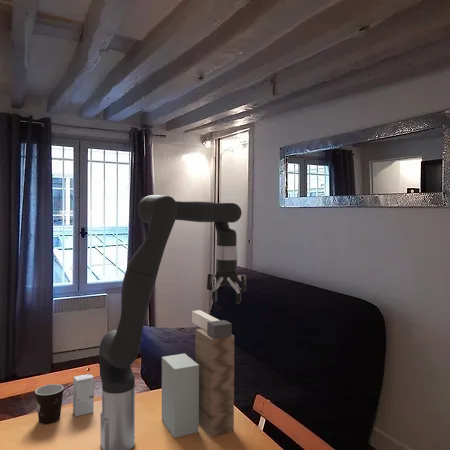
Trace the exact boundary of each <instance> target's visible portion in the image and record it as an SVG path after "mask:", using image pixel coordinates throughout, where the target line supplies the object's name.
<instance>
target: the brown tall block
mask: <svg viewBox="0 0 450 450" xmlns="http://www.w3.org/2000/svg"><path fill="white" fill-rule="evenodd" d="M194 350H195V352H194V353H195V355H194V356H195V362H196V363H197V364H198V365H199V427H201V428H202V429H203V431H204V432H205V433H206V434H207V435H208V436H209V437H210V438H213V437H217V436H220V435H224V434H228V433H233V432H234V431H235V430H234V429H235V426H234V425H235V424H234V423H235V421H234V420H235V335H234V334H232V336H231V337H224V338H217V339H214V338H212V337H210V336H209V335H207V331H206V330H204V329H202V328H197V329H195V349H194Z"/></svg>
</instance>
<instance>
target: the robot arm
mask: <svg viewBox="0 0 450 450" xmlns="http://www.w3.org/2000/svg"><path fill="white" fill-rule="evenodd" d="M137 215H138V217H139V218H140V220H141V221H142V222H144V223H146V224H148V225H149V228H148V231H147V234H146V237H145V239H144V240H143V243H142V244H141V245H140V246H139V247H138V249H137V251H136V252H135V253H134V254H133V255H132V257H131V258H130V260H129V261H128V263H127V266H126V270H125V272H124V276H123V278H122V279H123V280H122V284H121V292H120V293H121V295H120V296H121V301H120V303H121V309H120V310H121V311H120V318H119V322H118V326H117V329H113V330H110V331H107V333H106V334H105V335H103V337H102V339H101V340H100V343H99V350H98V351H99V354H98V355H99V357H98V358H99V376H100V381H101V386H102V387H101V389H102V390H101V393H102V394H101V395H102V396H101V407H102V409H101V412H100V446H101V449H102V450H131V449H133V447H134V446H135V443H136V442H135V440H136V439H135V438H136V434H135V433H136V431H135V429H136V428H135V426H136V424H135V420H136V419H135V418H136V417H135V416H136V415H135V414H136V412H135V410H136V407H135V406H136V405H135V404H136V403H135V401H136V400H135V399H136V395H135V392H136V391H135V389H136V388H135V387H136V382H135V381H136V380H135V375H134V373H133V372H134V371H133V369H132V367H131V366H132V364H133V363H134V362H135V361H136V359H137V357H138V355H139V352H140V346H141V342H142V335H143V328H144V324H145V320H146V315H147V313H148V310H149V307H150V301H151V299H152V294H153V291H154V289H155V286H156V285H155V284H156V282H157V281H156V280H157V279H158V278H157V277H158V273H159V269H160V266H161V262H162V259H163V256H164V252H165V250H166V246H167V243H168V240H169V238H170V235H171V233H172V230H173V227H174V225H175V222H176V221H186V222H193V223H214V229H215V231H216V235H217V238H216V239H217V240H216V242H217V243H216V254H215V255H216V256H215V257H216V260H215V261H216V263H215V265H216V266H215V267H216V272H215V273H213V272H210V273H208V274H207V280H206V281H207V282H206V290H208V291H210V292H211V301H212V302H213V303H217V301H218V289H219V287H220V286H221V287H228V288H229V287H232V288H233V290H234V291H235V292H236V293H235V303H236V305H239V304H240V303H241V301H242V293H245V292H246V291H247V278H246V277H247V275H246V274H238V249H237V248H238V247H237V243H238V242H237V239H238V237H237V236H238V235H237V232H236V230H234V229H233V228H230V225H229V224H230V223H233V224H234V223H236V222H238V221H239V220H241V218H242V209H241V206H240V205H238V203H235V202H213V201H199V200H198V201H194V200H193V201H191V200H190V201H186V200H185V201H181V200H179V201H178V200H177V201H176V200H175V199H174V198H173V196H170V195H162V194H160V195H159V194H158V195H157V194H151V195H147V196H145V197H142V198H141V199H140V201H139V203H138V205H137ZM214 279H215V280H217V282H216V283H215V284H214V286H213V280H214ZM237 280H239V281H240V283H241V285H239V283H237ZM240 286H241V288H240Z"/></svg>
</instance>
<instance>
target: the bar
mask: <svg viewBox="0 0 450 450" xmlns="http://www.w3.org/2000/svg"><path fill="white" fill-rule="evenodd" d="M191 323H193V324H195V326H197V327H199V328H200V329H204V330H206V331H207V335H209V336H210V337H212V338H214V339H217V338H224V337H231V336H232V335H233V333H232V331H233V330H232V329H233V324H232V323H231V322H230V321H228V320H225V319H222V320H221V319H218V318H216V317H214V316H213V315H210V314H209V313H207V312H204V311H202V310H201V309H198V310H192V311H191Z"/></svg>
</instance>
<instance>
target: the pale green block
mask: <svg viewBox="0 0 450 450" xmlns="http://www.w3.org/2000/svg"><path fill="white" fill-rule="evenodd" d="M161 422H162V423H163V424H164V427H166V428H167V430H168V432H169V433H170V434H171V436H172V437H173V438H174V439H176V438H180V437H184V436H187V435H192V434H196V433H199V429H200V428H199V427H200V425H199V365H198V364H197V363H196V362H195V361H194V360H193V358H191V357H190V356H188V355H187V354H186V353H179V354H174V355H165V356H161Z"/></svg>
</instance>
